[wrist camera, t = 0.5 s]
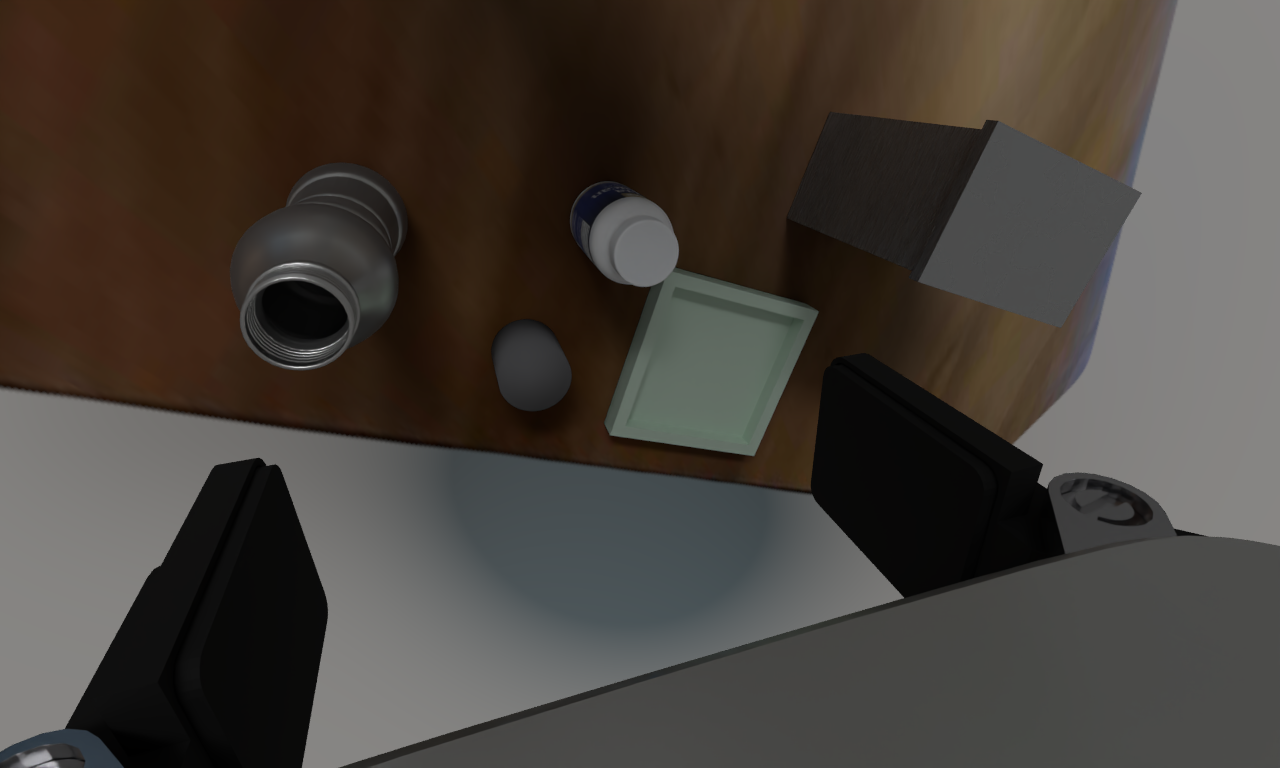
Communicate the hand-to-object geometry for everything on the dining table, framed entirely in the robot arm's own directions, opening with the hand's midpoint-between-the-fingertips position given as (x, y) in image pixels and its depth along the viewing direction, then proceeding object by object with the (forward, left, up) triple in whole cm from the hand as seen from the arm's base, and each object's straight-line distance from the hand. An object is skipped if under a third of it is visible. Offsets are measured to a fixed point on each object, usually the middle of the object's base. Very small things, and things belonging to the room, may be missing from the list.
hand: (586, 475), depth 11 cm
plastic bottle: (+4, -6, -35) cm, 36 cm away
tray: (+9, +22, -35) cm, 42 cm away
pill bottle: (0, +10, -35) cm, 36 cm away
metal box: (-8, +30, -35) cm, 46 cm away
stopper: (+11, +7, -35) cm, 37 cm away
